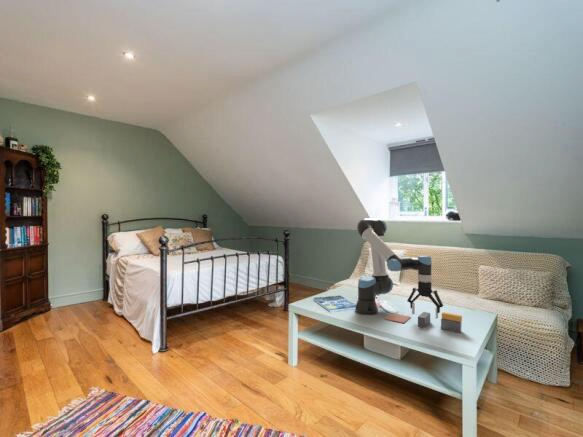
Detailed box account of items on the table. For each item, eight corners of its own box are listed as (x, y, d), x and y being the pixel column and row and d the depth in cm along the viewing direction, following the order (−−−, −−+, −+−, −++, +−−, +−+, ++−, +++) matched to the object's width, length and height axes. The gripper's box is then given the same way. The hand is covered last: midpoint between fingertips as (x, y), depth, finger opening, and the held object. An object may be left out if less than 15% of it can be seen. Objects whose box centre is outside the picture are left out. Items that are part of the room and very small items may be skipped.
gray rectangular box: (441, 329, 180) (441, 318, 180) (442, 327, 183) (442, 317, 183) (460, 333, 174) (460, 322, 174) (461, 331, 177) (461, 320, 177)
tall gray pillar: (417, 326, 184) (417, 316, 184) (423, 321, 194) (423, 311, 194) (424, 328, 182) (424, 318, 182) (430, 322, 191) (430, 313, 191)
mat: (384, 319, 196) (384, 318, 196) (392, 313, 207) (392, 312, 207) (403, 323, 188) (403, 322, 188) (410, 317, 199) (410, 316, 199)
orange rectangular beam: (441, 318, 180) (441, 313, 180) (442, 316, 183) (442, 311, 183) (460, 322, 174) (461, 316, 174) (461, 320, 176) (461, 315, 176)
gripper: (402, 279, 192) (402, 313, 192) (445, 284, 177) (445, 321, 177) (405, 277, 198) (406, 310, 198) (448, 282, 183) (448, 318, 183)
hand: (424, 316), depth 187 cm, fingers open, 13 cm apart
